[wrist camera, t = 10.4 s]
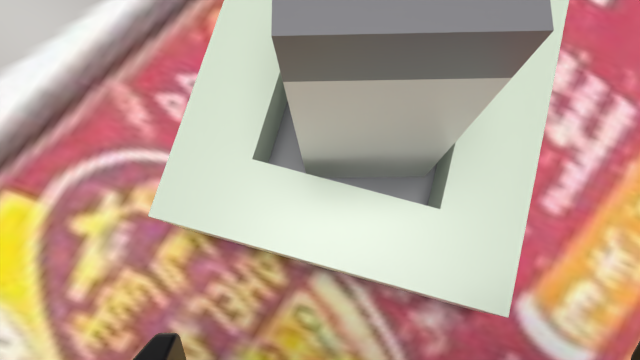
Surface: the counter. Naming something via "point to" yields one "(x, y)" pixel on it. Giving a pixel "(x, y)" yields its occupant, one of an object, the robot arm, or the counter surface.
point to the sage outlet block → (356, 192)
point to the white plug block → (396, 76)
